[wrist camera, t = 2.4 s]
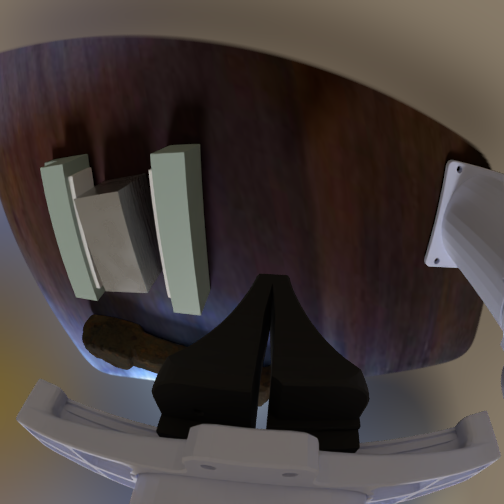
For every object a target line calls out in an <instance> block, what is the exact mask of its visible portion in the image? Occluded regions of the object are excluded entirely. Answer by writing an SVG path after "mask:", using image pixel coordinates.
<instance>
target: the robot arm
mask: <svg viewBox="0 0 504 504" xmlns="http://www.w3.org/2000/svg"><path fill="white" fill-rule="evenodd" d="M458 166H460V169H459V171H458V172H457V167H458ZM436 258H438V259H437V260H436V261H434V260H435V259H436ZM424 261H425V263H426V265H427V266H433V267H453V268H459V269H460V270H461V272H462V273H463V274H464V276H465V277H466V278H467V280H468V281H469V282H470V284H471V285H472V286H473V288H474V289H475V290H476V292H477V293H478V295H479V296H480V297H481V299H482V300H483V302H484V303H485V305H486V306H487V307H488V309H489V310H490V312H491V314H492V315H493V317H494V318H495V320H496V321H497V323H498V324H499V326H500V328H501V329H502V331H503V339H502V341H501V344H500V345H501V347H502V349H503V350H504V174H503V173H499V172H496V171H493V170H489V169H486V168H483V167H479V166H475V165H472V164H468V163H464V162H460V161H456V160H449V161H448V162H447V164H446V169H445V175H444V180H443V186H442V191H441V196H440V201H439V205H438V210H437V214H436V218H435V222H434V226H433V230H432V234H431V238H430V241H429V245H428V248H427V252H426V255H425V259H424ZM269 332H270V343H271V382H270V394H269V405H268V416H267V426H266V429H255V428H256V417H257V409H258V399H259V390H260V380H261V372H262V366H263V362H264V357H265V352H266V347H267V342H268V337H269ZM501 387H502V393H503V398H504V367H503V370H502V375H501ZM152 394H153V397H154V399H155V401H156V403H157V405H158V407H159V409H160V411H161V413H162V414H161V417H160V420H159V423H158V426H157V427H154V426H150V425H146V424H142V423H139V422H135V421H132V420H128V419H125V418H122V417H118V416H115V415H112V414H109V413H106V412H103V411H100V410H97V409H94V408H92V407H89V406H86V405H84V404H81V403H79V402H76V401H74V400H71V399H69V398H67V396H66V394H65V393H64V391H62V389H61V388H59V387H58V386H56V385H54V384H52V383H49V382H47V381H45V380H43V379H39V380H38V382H37V383H36V385H35V387H34V388H33V390H32V391H31V393H30V395H29V396H28V398H27V400H26V402H25V403H24V405H23V407H22V408H21V410H20V412H19V413H18V415H17V417H16V420H17V421H18V422H19V423H20V424H21V425H22V426H23V427H24V428H25V429H27V430H28V431H29V432H30V433H31V434H32V435H33V436H34V437H35V438H37V439H38V440H39V441H40V442H41V443H42V444H44V445H45V446H46V447H48V448H50V449H51V450H53V451H55V452H57V453H59V454H60V455H62V456H64V457H66V458H68V459H70V460H72V461H74V462H75V463H78V464H79V465H81V466H83V467H85V468H87V469H89V470H91V471H93V472H96V473H98V474H100V475H102V476H104V477H106V478H108V479H111V480H113V481H116V482H118V483H120V484H123V485H125V486H128V487H131V488H133V489H134V490H133V493H132V496H131V500H130V503H129V504H395V503H399V502H403V501H407V500H410V499H414V498H417V497H420V496H424V495H427V494H429V493H433V492H436V491H439V490H442V489H444V488H447V487H450V486H453V485H455V484H458V483H461V482H463V481H466V480H468V479H469V478H471V477H473V476H474V475H476V474H477V473H479V472H480V471H482V470H484V469H485V468H486V467H488V466H489V465H491V464H492V463H494V462H495V461H496V460H498V459H499V458H500V457H501V455H500V451H499V447H498V444H497V440H496V437H495V434H494V431H493V428H492V425H491V422H490V419H489V416H488V413H487V411H482V412H479V413H476V414H472V415H469V416H466V417H465V418H463V419H462V420H461V421H460V422H459V423H458V424H457V425H456V426H455V427H453V428H449V429H445V430H440V431H436V432H431V433H427V434H422V435H416V436H411V437H405V438H399V439H392V440H384V441H376V442H367V443H359V433H358V429H359V428H360V419H359V417H360V416H361V414H362V413H363V411H364V409H365V408H366V406H367V404H368V402H369V392H368V387H367V384H366V381H365V378H364V376H363V373H362V371H361V369H359V368H358V367H357V366H355V365H354V364H352V363H351V362H350V361H348V360H347V359H345V358H344V357H343V356H342V355H340V354H339V353H338V352H337V351H336V350H335V349H334V348H333V347H332V346H331V345H330V344H329V343H328V342H327V341H326V340H325V339H324V338H323V337H322V335H321V334H320V333H319V332H318V331H317V329H316V328H315V327H314V325H313V324H312V323H311V321H310V320H309V318H308V317H307V315H306V313H305V312H304V310H303V308H302V307H301V305H300V303H299V301H298V299H297V297H296V295H295V293H294V290H293V288H292V285H291V282H290V278H289V277H288V276H287V275H273V274H259V275H258V276H257V277H256V280H255V281H254V283H253V285H252V287H251V288H250V290H249V291H248V293H247V294H246V295H245V297H244V298H243V300H242V301H241V302H240V303H239V304H238V306H237V307H236V308H235V309H234V310H233V312H232V313H231V314H230V315H229V316H228V317H227V318H226V319H225V320H224V321H223V322H222V323H220V324H219V325H218V326H217V327H216V328H215V329H213V330H212V331H211V332H210V333H208V334H207V335H206V336H204V337H203V338H201V339H200V340H198V341H197V342H195V343H193V344H192V345H190V346H188V347H187V348H185V349H183V350H181V351H179V352H176V353H174V354H172V355H170V356H168V357H167V359H166V360H165V362H164V364H163V365H162V367H161V369H160V370H159V372H158V375H157V377H156V380H155V382H154V385H153V388H152Z"/></svg>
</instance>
